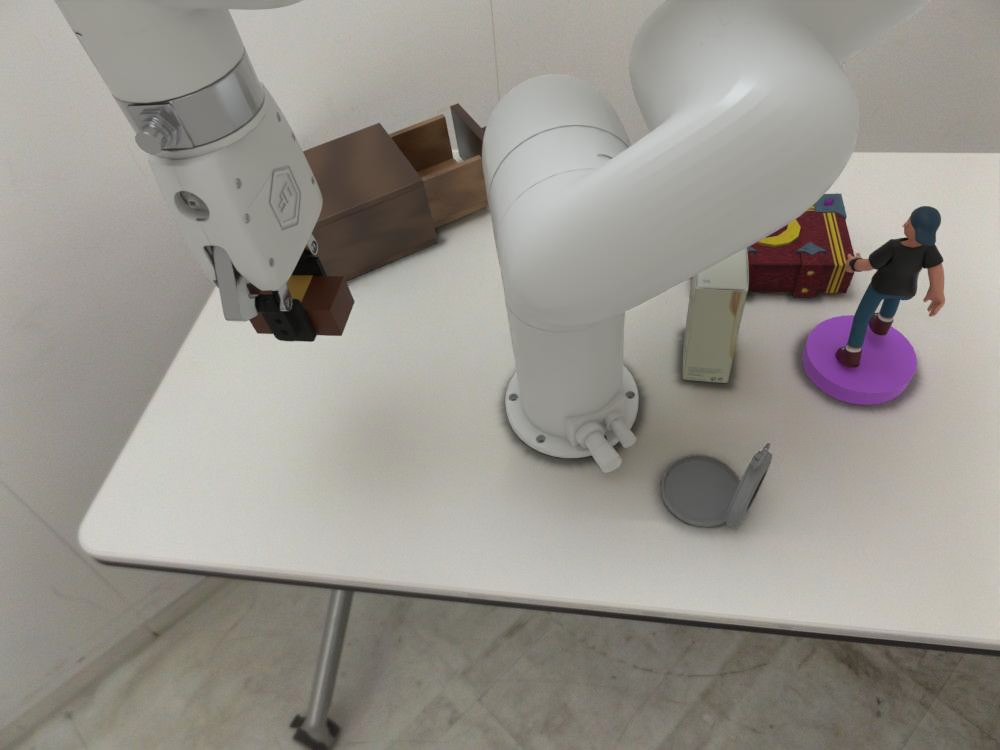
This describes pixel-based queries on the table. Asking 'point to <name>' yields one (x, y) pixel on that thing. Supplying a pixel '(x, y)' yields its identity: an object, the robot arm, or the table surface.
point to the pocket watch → (713, 489)
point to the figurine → (878, 319)
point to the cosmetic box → (715, 319)
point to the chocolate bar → (317, 303)
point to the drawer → (447, 164)
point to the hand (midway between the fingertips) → (306, 315)
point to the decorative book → (805, 253)
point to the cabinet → (367, 203)
